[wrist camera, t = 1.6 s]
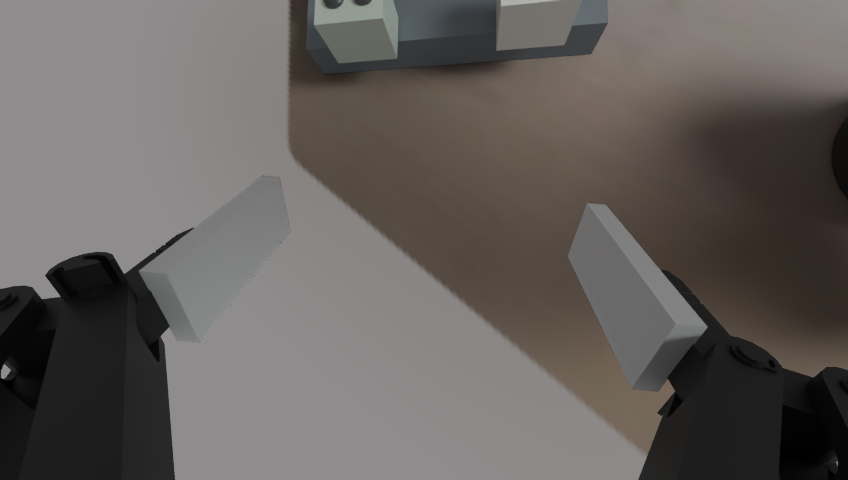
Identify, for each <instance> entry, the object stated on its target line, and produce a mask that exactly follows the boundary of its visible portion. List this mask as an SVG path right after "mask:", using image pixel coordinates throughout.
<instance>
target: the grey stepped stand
mask: <svg viewBox="0 0 848 480" xmlns="http://www.w3.org/2000/svg"><path fill="white" fill-rule="evenodd" d="M393 1H394V5H395V8H396V11H397V15H398V48H397V59H387V60H375V61H362V62H350V63H338V62H337V60H336V59H335V57H334V56H333V54H332V52H331V51H330V49H329V48H328V46H327V45H326V43H325V42H324V40H323V39H322V37H321V35H320V34H319V32H318V31H317V29H316V28H315V26H314V13H315V0H308V14H307V31H306V49H305V50H306V51H307V52H308V54H309V55H310V56H311V58H312V59H313V60H314V62H315V63H316V64H317V66H318V67H319V68H320V70H321V71H322V72H323V73H324V74H334V73H348V72H361V71H374V70H387V69H400V68H413V67H426V66H439V65H453V64H466V63H479V62H492V61H505V60H518V59H531V58H544V57H557V56H571V55H584V54H591V53H592V52H593V50H594V48H595V46H596V44H597V42H598V40H599V39H600V37H601V35H602V33H603V31H604V29H605V27H606V26H607V24H608V6H607V0H582V2H581V5H580V7H579V10H578V12H577V15H576V17H575V20H574V22H573V25H572V27H571V30H570V32H569V35H568V37H567V40H566V42H565V45H560V46H547V47H535V48H523V49H510V50H498V51H496V5H497V0H393Z"/></svg>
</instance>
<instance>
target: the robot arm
mask: <svg viewBox="0 0 848 480" xmlns="http://www.w3.org/2000/svg"><path fill="white" fill-rule="evenodd" d="M833 163H834V169H835V173H836V176H837V179H838V181H839V184H840V186H841V187H842V189H843V191H844V192H845V194H846V195H847V196H848V119H847V120H846V121H845V122H844V124H843V125H842V127H841V129H840V131H839V133H838V135H837V138H836V141H835V145H834V151H833ZM289 232H290V225H289V220H288V215H287V211H286V205H285V201H284V196H283V191H282V186H281V181H280V177H273V176H261V177H260V178H259V179H257V180H256V181H255V182H254V183H252V184H251V185H250V186H249V187H247V188H246V189H245V190H243V191H242V192H241V193H239V194H238V195H237V196H235V197H234V198H233V199H232V200H230V201H229V202H228V203H226V204H225V205H224V206H222V207H221V208H220V209H219V210H217V211H216V212H215V213H214V214H212V215H211V216H209V217H208V218H207V219H206V220H204V221H203V222H202V223H200V224H199V225H198V226H197V227H195V228H191V229H189V230H187V231H185V232H182V233H180V234H178V235H176V236H175V237H174V238H172V239H171V240H170V241H168V242H167V243H166V245H163V246H162V247H160V248H159V249H158V250H156V253H152V254H151V255H149V256H148V257H147V258H145V259H144V260H143V261H141V262H140V263H139V264H137V265H136V266H135V267H133V268H132V269H131V270H129V271H128V272H127V273H125V274H124V273H123V272H122V270H121V269H120V267H119V265H118V263H117V261H116V260H115V258H114V256H113V255H112V254H109V253H106V252H94V253H88V254H82V255H79V256H76V257H72V258H70V259H67V260H65V261H63V262H61V263H59V264H57V265H56V266H54V267H53V268H51V269H50V270H49V271H48V273H47V274H46V275H45V276H46V277H47V279H48V280H49V281H50V283H51V284H52V285H53V287H54V288H55V289H56V291H57V292H58V293H59V294H60V296H61V297H58V298H50V299H41V298H40V296H39V295H38V294H37V293H36V291H35V290H34V289H33V288H32V287H28V286H13V287H9V288H4V289H0V480H175V475H174V462H173V450H172V438H171V437H172V436H171V424H170V411H169V398H168V385H167V372H166V359H165V346H164V343H163V341H162V339H161V337H160V336H161V335H162V334H163V333H164V332H165V331H166V330H167V329H168V327H169V328H170V329H171V331H172V333H173V335H174V337H175V338H176V340H181V341H189V342H199V343H200V342H201V341H202V340H203V338H204V337H205V336H206V335H207V334H208V332H209V331H210V330H211V328H212V327H213V326H214V325H215V324H216V322H217V321H218V320H219V319H220V318H221V316H222V315H223V314H224V312H225V311H226V310H227V309H228V307H229V306H230V305H231V304H232V303H233V301H234V300H235V299H236V298H237V296H238V295H239V294H240V293H241V292H242V290H243V289H244V288H245V286H246V285H247V284H248V283H249V282H250V281H251V279H252V278H253V277H254V276H255V274H256V273H257V272H258V271H259V269H260V268H261V267H262V266H263V264H264V263H265V262H266V261H267V259H268V258H269V257H270V256H271V255H272V253H273V252H274V251H275V250H276V248H277V247H278V246H279V245H280V244H281V242H282V241H283V240H284V239H285V237H286V236H287V235H288V234H289ZM568 258H569V260H570V262H571V265H572V267H573V269H574V271H575V273H576V275H577V277H578V279H579V281H580V283H581V285H582V287H583V289H584V292H585V294H586V296H587V298H588V300H589V302H590V304H591V306H592V308H593V310H594V312H595V314H596V316H597V319H598V321H599V323H600V325H601V327H602V329H603V331H604V333H605V335H606V337H607V339H608V341H609V343H610V346H611V348H612V350H613V352H614V354H615V356H616V358H617V360H618V362H619V364H620V366H621V368H622V370H623V373H624V375H625V377H626V379H627V381H628V383H629V385H630V387H631V389H638V390H648V391H657V392H658V391H659V390H660V388H661V387H662V386H663V384H664V383H665V382H666V381H667V379H668V380H669V381H670V383H671V385H672V386H673V388H674V390H675V392H674V393H673V395H672V396H671V397H670V398H669V399H668V401H667V402H666V403H665V404H664V406H663V407H662V408H661V409H660V410H659V412H658V414H660V415H661V416H662V415H663V416H662V419H661V422H660V424H659V427H658V430H657V432H656V435H655V437H654V440H653V443H652V445H651V448H650V451H649V453H648V456H647V458H646V461H645V464H644V466H643V469H642V472H641V475H640V477H639V480H848V370H845V369H842V368H838V367H826V368H825V369H824V370H822V371H821V372H820V373H819V374H817V375H816V376H815V377H814V378H813V377H810V376H806V375H803V374H800V373H797V372H794V371H791V370H787V369H784V368H782V366H781V365H780V364H779V363H778V361H777V360H776V359H775V358H774V357H773V356H772V355H770V354H769V353H768V352H767V351H765V350H764V349H762V348H761V347H759V346H757V345H755V344H754V343H752V342H749V341H747V340H744V339H741V338H738V337H733V336H730V335H729V334H728V333H727V331H726V330H725V329H724V328H723V327H722V326H721V325H720V324H719V322H718V321H717V320H716V319H715V318H714V317H713V316H712V314H711V313H710V312H709V311H708V310H707V309H706V308H705V307H704V305H703V304H700V301H699V300H698V299H697V298H696V296H695V295H693V294H692V292H691V291H690V290H689V288H688V287H687V286H686V285H685V284H684V283H683V282H682V281H681V280H680V279H678V278H677V277H675V276H674V275H673V274H671V273H670V272H668V271H666V270H660V269H659V268H658V267H657V266H656V264H655V263H654V262H653V261H652V260H651V258H650V257H649V256H648V255H647V254H646V252H645V251H644V250H643V249H642V248H641V246H640V245H639V244H638V243H637V242H636V240H635V239H634V238H633V237H632V236H631V234H630V233H629V232H628V231H627V230H626V228H625V227H624V226H623V225H622V224H621V222H620V221H619V220H618V219H617V218H616V216H615V215H614V214H613V213H612V212H611V210H610V209H609V208H608V207H607V206H606V205H603V204H591V203H587V205H586V207H585V210H584V213H583V216H582V218H581V221H580V224H579V226H578V229H577V232H576V235H575V237H574V240H573V243H572V246H571V248H570V251H569V254H568ZM4 364H5V365H6V366H7V367H8V368H10V369H11V371H10V373H9V374H8V375H7V377H6V378H5V379H2V378H1V369H2V367H3V365H4ZM837 461H838V467H837V465H836V462H837Z"/></svg>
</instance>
